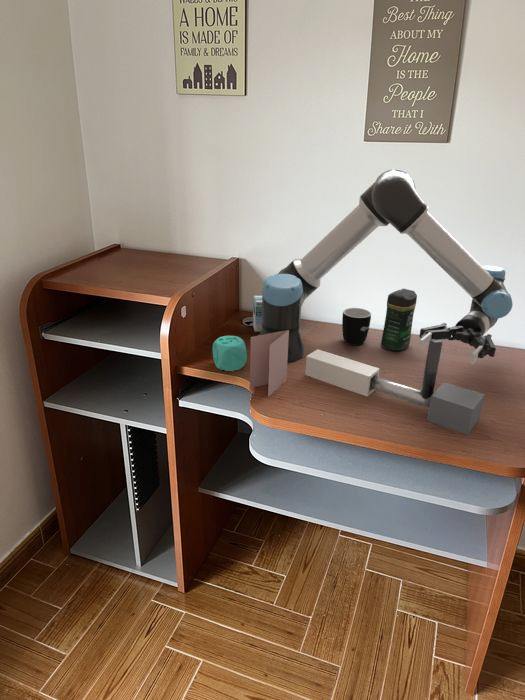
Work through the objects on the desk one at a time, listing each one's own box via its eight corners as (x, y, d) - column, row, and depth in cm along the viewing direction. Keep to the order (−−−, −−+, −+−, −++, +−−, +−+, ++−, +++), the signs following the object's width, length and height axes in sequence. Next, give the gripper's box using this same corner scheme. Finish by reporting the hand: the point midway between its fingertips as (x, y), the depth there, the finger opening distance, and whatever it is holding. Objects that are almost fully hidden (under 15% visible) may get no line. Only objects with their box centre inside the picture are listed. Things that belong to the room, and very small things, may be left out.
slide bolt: (353, 385, 146) (359, 324, 138) (359, 380, 149) (366, 320, 141) (447, 417, 132) (460, 351, 125) (452, 411, 135) (465, 346, 127)
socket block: (426, 420, 133) (431, 395, 130) (439, 406, 139) (444, 382, 136) (467, 434, 127) (473, 409, 124) (479, 419, 134) (484, 394, 131)
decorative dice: (246, 369, 156) (247, 344, 152) (220, 373, 153) (220, 348, 150) (238, 358, 162) (238, 333, 159) (212, 361, 160) (212, 337, 156)
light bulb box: (254, 332, 181) (255, 301, 177) (252, 324, 187) (252, 295, 183) (285, 331, 183) (287, 301, 178) (282, 323, 189) (283, 294, 184)
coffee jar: (399, 354, 168) (408, 297, 160) (377, 347, 172) (384, 291, 165) (413, 344, 175) (421, 290, 167) (391, 338, 179) (398, 284, 172)
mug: (359, 349, 170) (362, 319, 166) (335, 342, 175) (337, 312, 171) (377, 338, 179) (380, 309, 175) (353, 331, 184) (356, 303, 180)
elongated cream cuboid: (305, 375, 153) (306, 356, 151) (316, 367, 158) (317, 349, 155) (367, 396, 143) (369, 376, 140) (377, 388, 147) (379, 368, 145)
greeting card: (284, 378, 151) (287, 328, 145) (298, 389, 145) (301, 338, 139) (248, 386, 146) (249, 335, 140) (261, 398, 140) (262, 346, 134)
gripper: (514, 351, 149) (492, 378, 134) (427, 329, 163) (398, 351, 147) (520, 326, 146) (499, 351, 131) (431, 305, 160) (402, 326, 144)
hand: (445, 351), depth 139 cm, fingers open, 13 cm apart
